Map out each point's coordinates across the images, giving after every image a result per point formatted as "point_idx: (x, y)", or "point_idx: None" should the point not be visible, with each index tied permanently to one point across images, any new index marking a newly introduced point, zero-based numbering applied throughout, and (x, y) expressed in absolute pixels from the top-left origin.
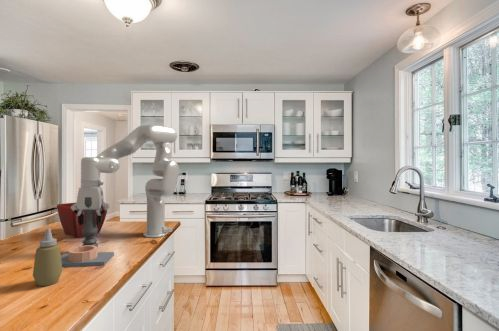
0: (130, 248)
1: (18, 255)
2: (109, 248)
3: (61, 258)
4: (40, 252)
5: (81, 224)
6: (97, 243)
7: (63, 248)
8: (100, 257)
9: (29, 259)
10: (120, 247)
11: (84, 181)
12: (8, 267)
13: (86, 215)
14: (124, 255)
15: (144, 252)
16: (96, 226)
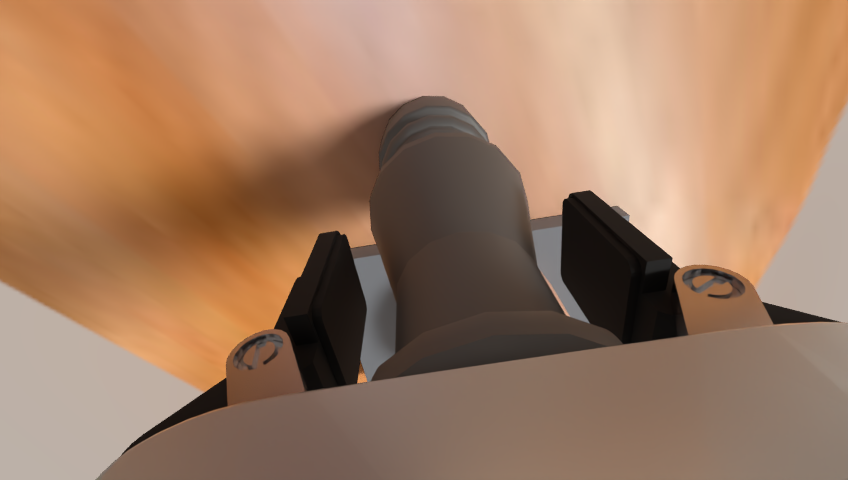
0: (716, 42)
1: (19, 237)
2: (544, 50)
3: (377, 327)
4: None
5: (362, 290)
6: (486, 135)
7: (160, 68)
8: (575, 303)
9: (170, 290)
10: (629, 14)
11: None
12: (191, 374)
13: None
14: (682, 203)
15: (813, 139)
16: (529, 220)
